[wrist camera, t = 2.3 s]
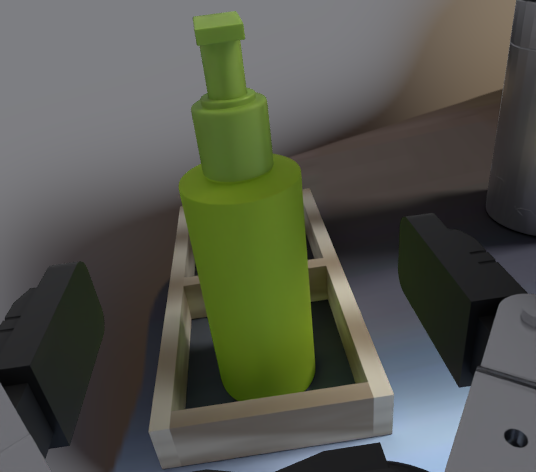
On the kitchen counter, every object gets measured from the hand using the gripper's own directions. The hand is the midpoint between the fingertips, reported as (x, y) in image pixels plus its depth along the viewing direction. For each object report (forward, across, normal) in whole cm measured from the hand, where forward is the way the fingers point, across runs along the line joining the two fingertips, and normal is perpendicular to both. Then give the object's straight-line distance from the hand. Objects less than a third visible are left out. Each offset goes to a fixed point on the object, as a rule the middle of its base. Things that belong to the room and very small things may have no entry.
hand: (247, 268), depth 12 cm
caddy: (+17, 0, +15) cm, 23 cm away
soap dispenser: (+12, 0, +15) cm, 19 cm away
